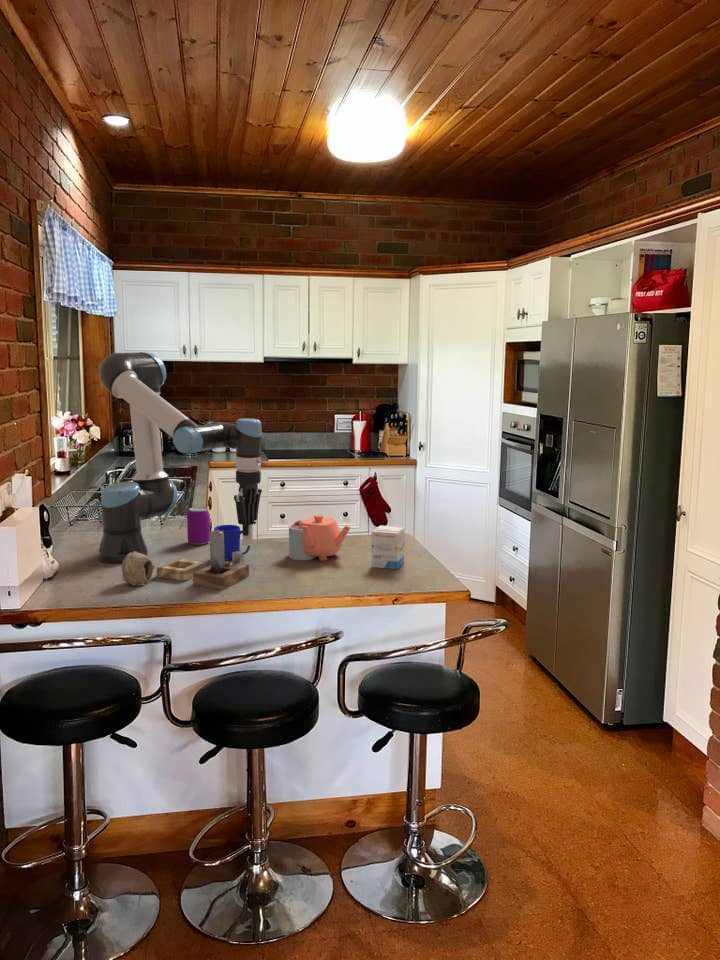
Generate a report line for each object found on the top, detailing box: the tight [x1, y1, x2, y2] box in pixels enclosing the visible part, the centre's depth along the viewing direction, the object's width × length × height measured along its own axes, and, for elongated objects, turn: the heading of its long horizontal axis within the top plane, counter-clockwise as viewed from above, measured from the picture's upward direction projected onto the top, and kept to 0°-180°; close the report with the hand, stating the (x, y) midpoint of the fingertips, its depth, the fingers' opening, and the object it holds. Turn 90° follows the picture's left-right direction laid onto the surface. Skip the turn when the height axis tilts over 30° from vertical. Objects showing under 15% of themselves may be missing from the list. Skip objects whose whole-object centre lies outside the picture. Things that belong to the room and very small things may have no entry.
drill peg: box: [209, 529, 226, 574], centre depth 221 cm, size 4×4×15 cm
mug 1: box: [213, 524, 251, 561], centre depth 245 cm, size 8×12×10 cm
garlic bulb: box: [121, 551, 155, 586], centre depth 220 cm, size 9×8×10 cm
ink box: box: [371, 525, 406, 570], centre depth 240 cm, size 9×8×12 cm
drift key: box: [229, 550, 245, 568], centre depth 229 cm, size 8×3×6 cm, turn 158°
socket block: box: [192, 560, 250, 590], centre depth 223 cm, size 14×10×4 cm
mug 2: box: [288, 523, 318, 561], centre depth 247 cm, size 14×9×10 cm
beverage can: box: [186, 506, 211, 546], centre depth 263 cm, size 8×8×12 cm
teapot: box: [293, 514, 351, 562], centre depth 249 cm, size 16×17×14 cm
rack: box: [156, 557, 206, 582], centre depth 229 cm, size 10×10×3 cm
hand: (247, 544), depth 237 cm, fingers closed
